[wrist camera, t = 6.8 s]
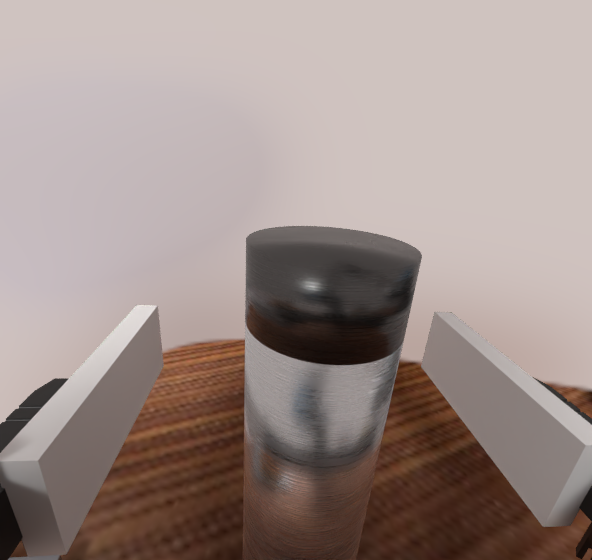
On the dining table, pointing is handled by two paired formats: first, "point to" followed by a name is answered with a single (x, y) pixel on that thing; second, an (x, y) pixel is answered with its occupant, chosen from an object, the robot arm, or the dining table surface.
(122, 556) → the dining table surface
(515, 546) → the dining table surface
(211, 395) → the dining table surface
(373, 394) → the capped glass tube
